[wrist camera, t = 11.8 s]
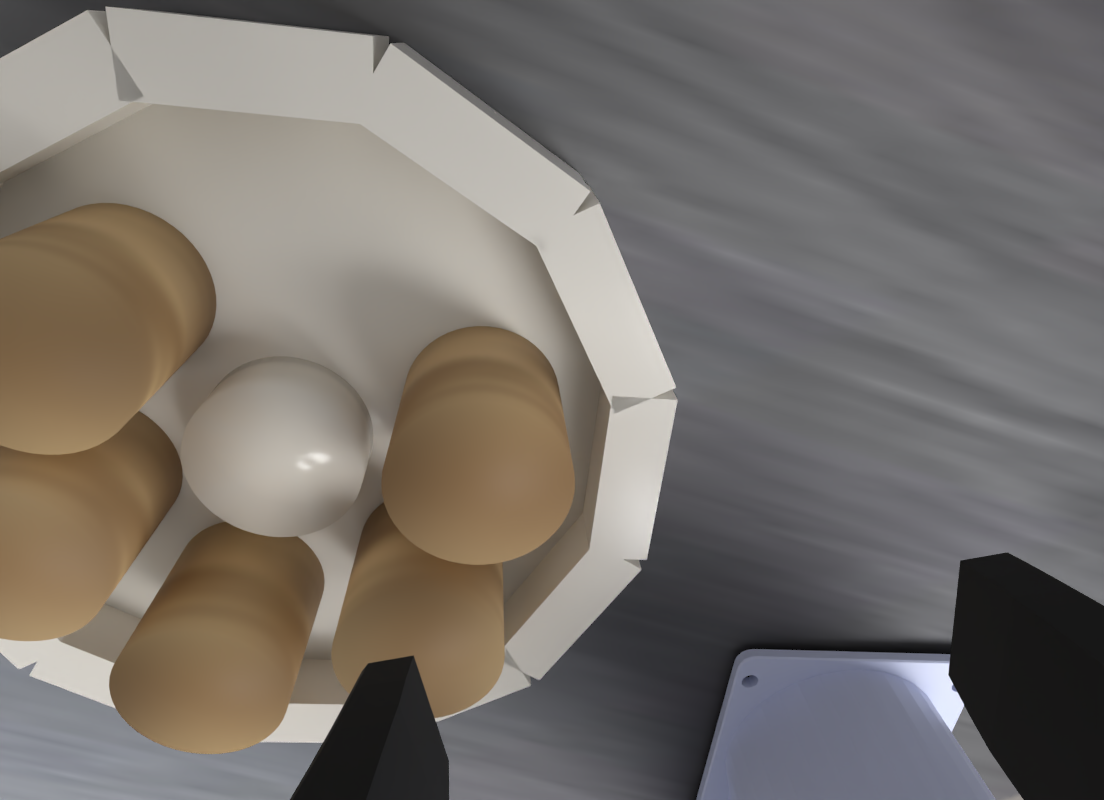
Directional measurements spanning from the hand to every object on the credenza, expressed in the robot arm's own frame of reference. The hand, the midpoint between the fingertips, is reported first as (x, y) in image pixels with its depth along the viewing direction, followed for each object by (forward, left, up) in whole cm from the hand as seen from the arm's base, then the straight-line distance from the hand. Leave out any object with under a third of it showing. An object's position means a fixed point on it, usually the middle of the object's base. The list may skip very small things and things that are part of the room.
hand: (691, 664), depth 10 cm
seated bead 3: (-7, +9, -9) cm, 14 cm away
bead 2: (-5, +4, -9) cm, 11 cm away
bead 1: (-1, +3, -9) cm, 10 cm away
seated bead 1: (+1, +11, -9) cm, 14 cm away
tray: (-2, +8, -10) cm, 13 cm away
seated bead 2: (-3, +12, -9) cm, 16 cm away
